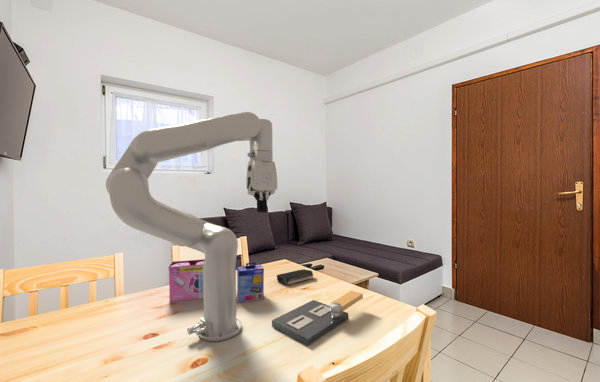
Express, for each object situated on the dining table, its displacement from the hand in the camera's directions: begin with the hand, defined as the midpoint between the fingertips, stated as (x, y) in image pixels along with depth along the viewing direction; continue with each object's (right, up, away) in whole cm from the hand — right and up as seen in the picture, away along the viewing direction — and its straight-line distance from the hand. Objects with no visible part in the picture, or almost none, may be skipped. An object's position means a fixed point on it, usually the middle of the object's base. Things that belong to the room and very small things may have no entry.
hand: (261, 211), depth 92 cm
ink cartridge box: (-6, -35, +14) cm, 38 cm away
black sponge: (+11, -35, +34) cm, 50 cm away
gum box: (-27, -35, +18) cm, 48 cm away
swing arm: (+28, -31, -1) cm, 41 cm away
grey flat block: (+16, -35, -4) cm, 39 cm away
